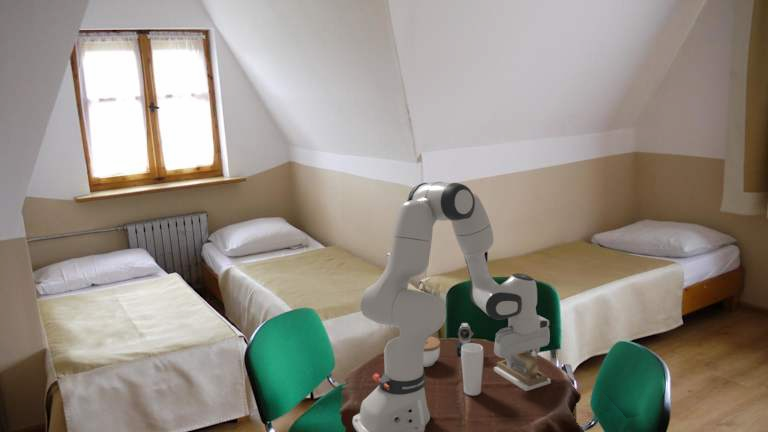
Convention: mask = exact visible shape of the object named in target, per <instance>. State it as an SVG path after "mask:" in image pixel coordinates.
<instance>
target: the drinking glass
mask: <svg viewBox="0 0 768 432" xmlns="http://www.w3.org/2000/svg"><path fill="white" fill-rule="evenodd" d="M460 362H461V372H462V383H463V392H464V394H465V395H468V396H471V397H474V396H478V395H480V394H481V393H482V392H481V391H482V379H483V370H484V369H483V368H484V367H483V366H484V347H483V346H482V344H480V343H475V342H469V343H467V344H464V345H463V346H462V347H461V356H460Z"/></svg>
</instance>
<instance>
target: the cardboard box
mask: <svg viewBox="0 0 768 432" xmlns="http://www.w3.org/2000/svg"><path fill="white" fill-rule="evenodd" d="M510 360H511V361H512V362H514V367H512V369H513V370H515V371H517V372H518V373H520V374H522V375H523V376H525V377H526V378H528V379H530V380H531V379H534V378H536V375H537V370H539V369H538V361H539V359H538V357H537V358H536V357H534V356H532V355H530V353H528V351H526V352H523V353H519V354H516V355H512V356H511V359H510Z"/></svg>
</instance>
